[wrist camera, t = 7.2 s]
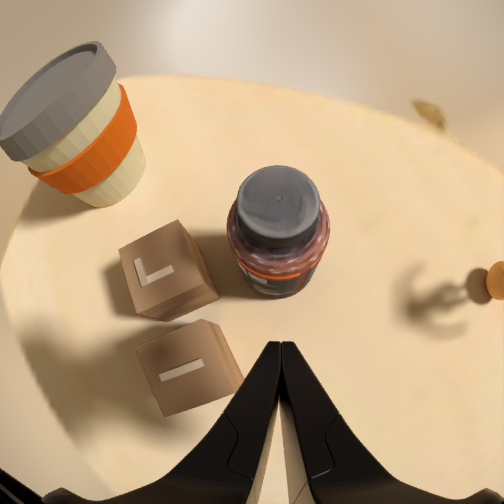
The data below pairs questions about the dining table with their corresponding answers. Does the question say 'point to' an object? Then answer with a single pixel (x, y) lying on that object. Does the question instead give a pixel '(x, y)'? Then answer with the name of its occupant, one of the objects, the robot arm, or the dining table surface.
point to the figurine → (496, 281)
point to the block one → (190, 367)
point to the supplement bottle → (278, 230)
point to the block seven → (167, 273)
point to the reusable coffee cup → (76, 128)
